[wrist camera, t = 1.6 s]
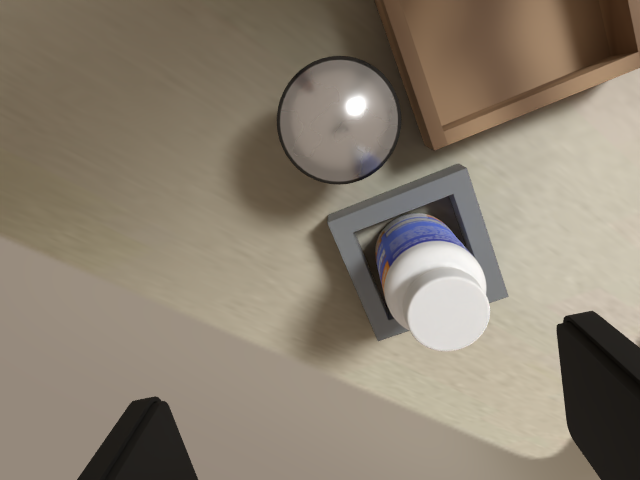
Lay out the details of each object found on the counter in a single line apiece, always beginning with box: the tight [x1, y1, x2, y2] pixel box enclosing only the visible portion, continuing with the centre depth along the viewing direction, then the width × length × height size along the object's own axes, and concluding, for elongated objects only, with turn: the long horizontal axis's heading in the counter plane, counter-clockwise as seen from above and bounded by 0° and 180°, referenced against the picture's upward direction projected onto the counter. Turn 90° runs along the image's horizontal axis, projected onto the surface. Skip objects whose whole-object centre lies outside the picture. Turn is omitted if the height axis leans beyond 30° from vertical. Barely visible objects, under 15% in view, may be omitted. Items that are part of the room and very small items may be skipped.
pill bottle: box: [375, 213, 490, 351], centre depth 26 cm, size 5×5×10 cm
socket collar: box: [327, 164, 509, 341], centre depth 30 cm, size 9×9×2 cm
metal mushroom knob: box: [277, 56, 401, 184], centre depth 26 cm, size 6×6×6 cm
